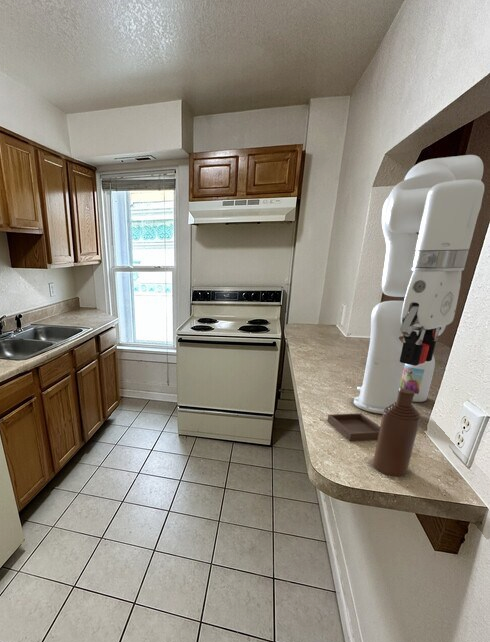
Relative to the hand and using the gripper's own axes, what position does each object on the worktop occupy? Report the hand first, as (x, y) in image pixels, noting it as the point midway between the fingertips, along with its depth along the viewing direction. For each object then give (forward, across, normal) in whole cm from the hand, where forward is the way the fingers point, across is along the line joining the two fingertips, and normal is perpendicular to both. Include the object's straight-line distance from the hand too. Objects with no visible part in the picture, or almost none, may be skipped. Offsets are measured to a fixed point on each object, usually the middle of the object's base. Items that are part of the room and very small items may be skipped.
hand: (415, 360), depth 68 cm
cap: (0, 0, 0) cm, 0 cm away
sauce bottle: (+25, 0, 0) cm, 25 cm away
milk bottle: (+25, +46, +18) cm, 56 cm away
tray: (+25, +11, +15) cm, 31 cm away
